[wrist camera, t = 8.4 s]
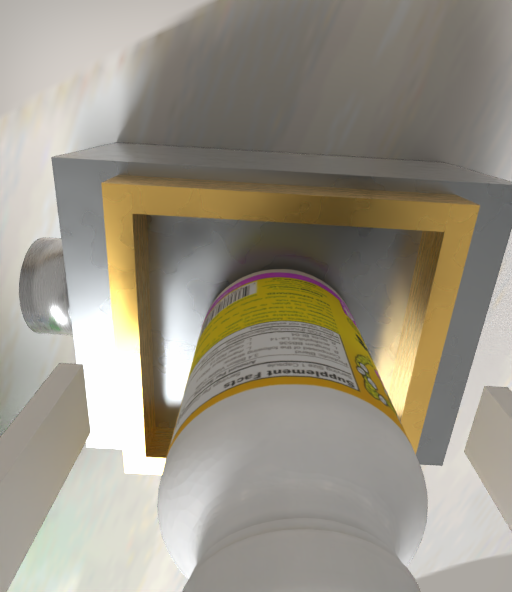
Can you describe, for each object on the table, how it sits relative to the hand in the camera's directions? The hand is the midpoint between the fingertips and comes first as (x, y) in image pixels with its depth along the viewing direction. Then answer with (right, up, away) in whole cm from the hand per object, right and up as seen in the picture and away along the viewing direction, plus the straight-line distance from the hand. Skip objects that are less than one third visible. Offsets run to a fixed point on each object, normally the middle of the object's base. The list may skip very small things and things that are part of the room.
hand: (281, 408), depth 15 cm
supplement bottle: (0, +2, +5) cm, 5 cm away
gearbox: (-1, +5, +12) cm, 13 cm away
